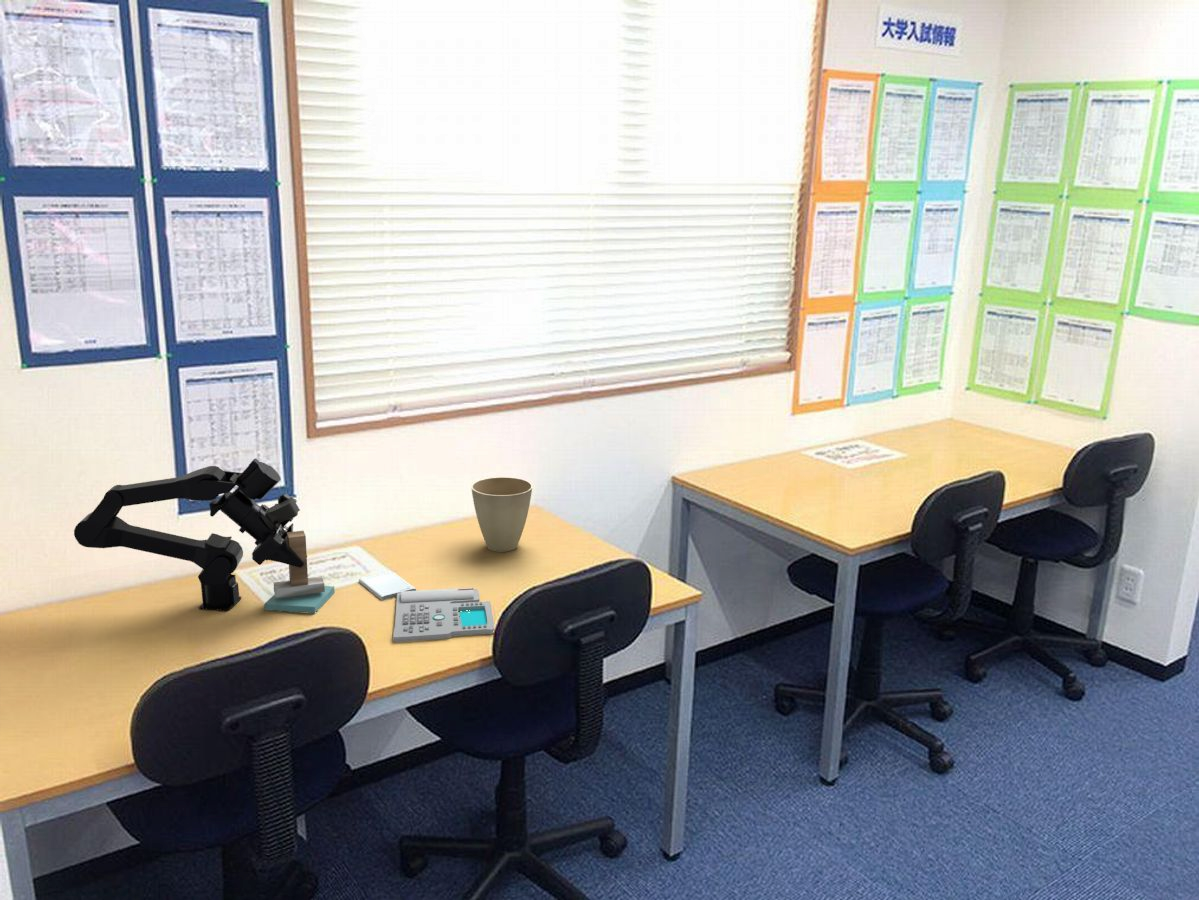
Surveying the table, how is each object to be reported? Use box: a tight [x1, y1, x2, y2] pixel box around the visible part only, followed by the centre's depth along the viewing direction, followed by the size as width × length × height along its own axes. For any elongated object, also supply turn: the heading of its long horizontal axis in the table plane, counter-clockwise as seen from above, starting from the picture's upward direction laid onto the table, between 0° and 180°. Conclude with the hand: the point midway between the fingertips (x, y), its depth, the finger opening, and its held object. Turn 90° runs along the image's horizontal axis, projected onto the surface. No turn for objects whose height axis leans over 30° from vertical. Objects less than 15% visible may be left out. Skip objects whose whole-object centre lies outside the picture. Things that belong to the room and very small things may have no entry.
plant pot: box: [470, 476, 533, 553], centre depth 245 cm, size 15×15×16 cm
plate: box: [264, 585, 335, 614], centre depth 213 cm, size 11×11×2 cm
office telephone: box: [392, 587, 495, 643], centre depth 208 cm, size 23×3×20 cm
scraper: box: [273, 530, 326, 598], centre depth 211 cm, size 4×10×13 cm, turn 113°
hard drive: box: [358, 570, 417, 601], centre depth 222 cm, size 2×8×12 cm
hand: (304, 562), depth 211 cm, fingers closed on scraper, 4 cm apart
